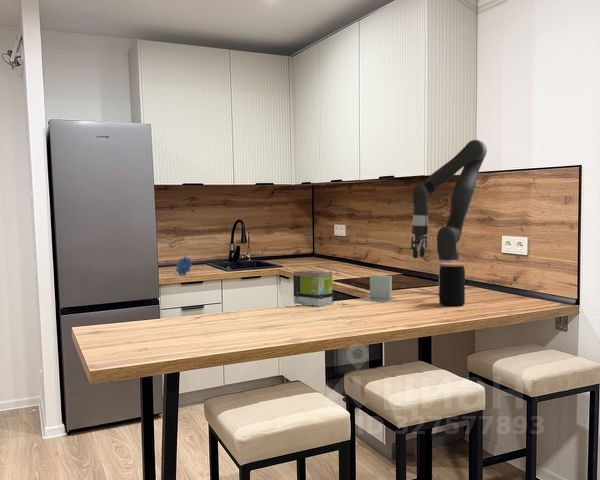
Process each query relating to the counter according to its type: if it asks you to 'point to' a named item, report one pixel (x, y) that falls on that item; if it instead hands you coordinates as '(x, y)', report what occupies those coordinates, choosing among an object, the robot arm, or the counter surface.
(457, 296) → the coffee jar
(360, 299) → the slate board
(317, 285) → the tea box
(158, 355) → the counter surface
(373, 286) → the tile
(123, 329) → the counter surface
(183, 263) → the grapes
